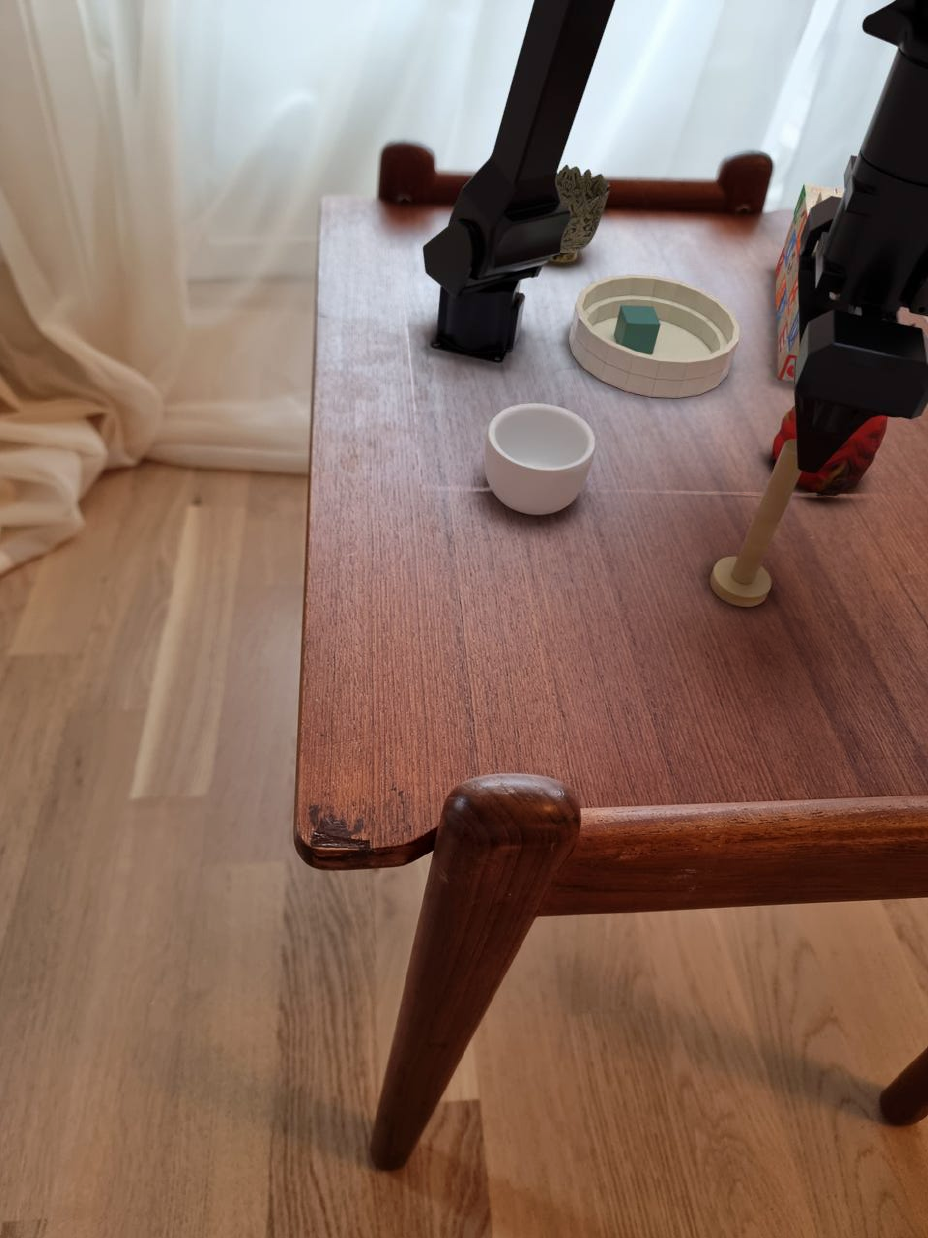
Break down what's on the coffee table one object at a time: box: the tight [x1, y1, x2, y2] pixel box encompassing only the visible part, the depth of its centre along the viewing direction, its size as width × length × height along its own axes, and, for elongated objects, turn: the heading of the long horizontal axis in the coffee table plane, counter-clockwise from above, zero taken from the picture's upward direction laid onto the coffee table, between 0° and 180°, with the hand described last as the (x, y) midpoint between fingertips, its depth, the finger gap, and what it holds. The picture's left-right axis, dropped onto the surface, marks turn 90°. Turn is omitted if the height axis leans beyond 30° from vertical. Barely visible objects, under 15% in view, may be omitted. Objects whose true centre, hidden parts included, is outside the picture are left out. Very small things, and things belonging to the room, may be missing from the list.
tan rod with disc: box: [709, 439, 802, 608], centre depth 64 cm, size 4×4×12 cm
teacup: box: [484, 402, 596, 516], centre depth 71 cm, size 10×8×5 cm
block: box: [614, 305, 661, 354], centre depth 87 cm, size 3×3×3 cm
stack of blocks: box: [775, 182, 845, 383], centre depth 89 cm, size 21×6×12 cm, turn 168°
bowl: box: [568, 273, 741, 399], centre depth 86 cm, size 14×14×4 cm
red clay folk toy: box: [771, 322, 917, 497], centre depth 72 cm, size 8×7×15 cm
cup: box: [547, 164, 611, 266], centre depth 95 cm, size 8×7×8 cm
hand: (807, 425), depth 59 cm, fingers open, 9 cm apart
